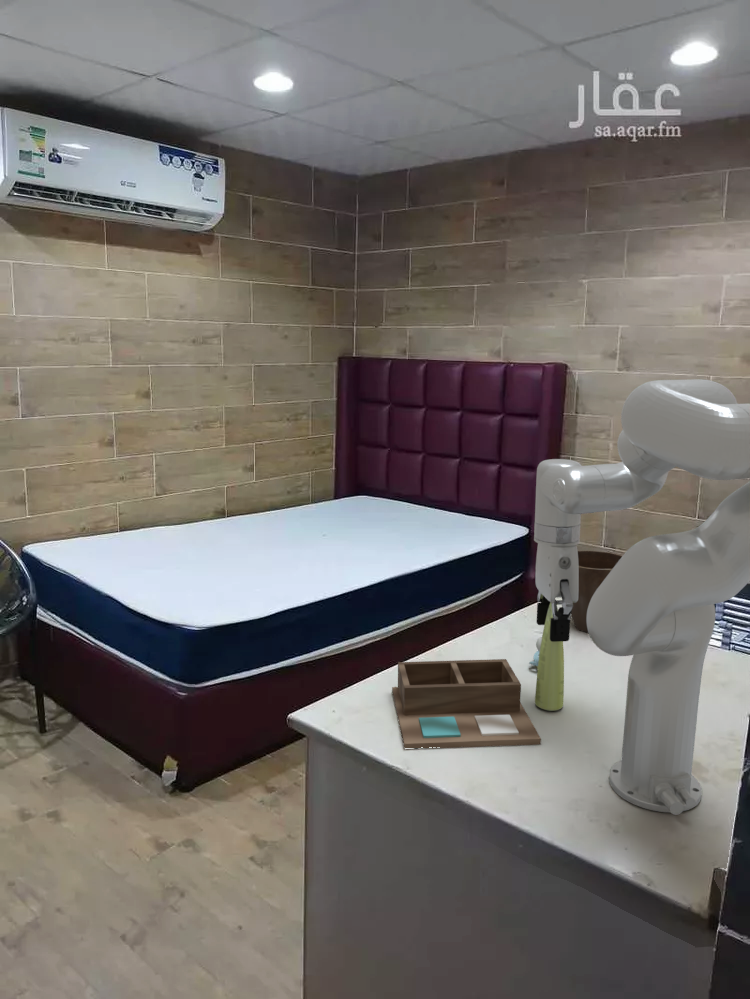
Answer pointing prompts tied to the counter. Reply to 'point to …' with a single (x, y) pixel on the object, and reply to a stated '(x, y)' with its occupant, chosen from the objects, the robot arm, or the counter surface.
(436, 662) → the brown wooden desk organizer
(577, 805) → the counter surface
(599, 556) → the plant pot
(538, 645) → the pacifier
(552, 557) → the robot arm
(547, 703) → the tube
